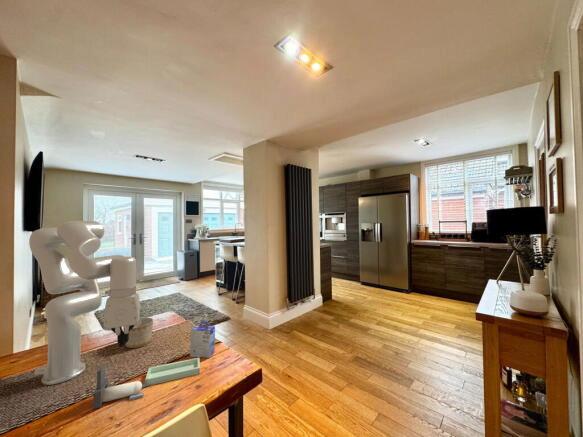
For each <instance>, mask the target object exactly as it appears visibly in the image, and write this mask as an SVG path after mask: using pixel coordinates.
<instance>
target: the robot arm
mask: <svg viewBox="0 0 583 437" xmlns="http://www.w3.org/2000/svg"><path fill="white" fill-rule="evenodd" d="M104 235H105V228H104V226H103V225H102V223H101V222H99V221H96V220H95V221H94V220H69V221H68V220H67V221H65V222H62V223H61V224H59V225H58V226H57V227H45V228H39V229H36V230H34V231H33V232H32V233H30V236H29V243H28V244H29V248H30V251H31V253H32V255H33V257H34V258H35V260H36V261H37V263H38V264H39V268H40V272H41V276H42V281H43V285H44V288H45V291H46V292H47V293H48V294H50V295H57V294H64V293H68V294H65V295H61V296H57V297H55V298H52V299H50V300H49V301H48V302H47V303H46V305H45V307H44V313H45V318H46V322H47V323H46V324H47V365H46V366H41V367H35V369H34V376H35V377H37V376H38V377H39V376H42V377H41V384H43V385H47V386H48V385H50V386H51V385H56V384H60V383H64V382H66V381H69V380H71V379H73V378H75V377H77V376H79V375H81V374H82V373H83V372H84V371H85V370H86V363H85V362H82V361H81V359H82V358H81V356H82V354H81V350H82V348H81V347H82V346H81V345H82V344H81V343H82V326H81V324H80V323H79V321H77V320H75V318H76V317H79V316H81V315H85V314H88V313H91V312H94V311H96V310H98V309H99V308H100V307H101V306H102V302H103V298H102V293H101V290H100V287H99V286H100V285H99V282H98V279H103V278H108V277H109V289H107V290H105V291H104V295H108V297H107V298H106V301H105V307H104V311H103V312H104V314H103V330H104V331H105V332H106V331H107V332H112V333H114V334H115V335H116V337H117V338H116V339H117V341H116V342H117V344H118V346H119V347H126V346H125V345H126V343H127V342H128V341H129V331H130V330H131V329H132V328H133V327H136V326H139V325H140V324H141V319H140V318H142V311H141V310H142V309H141V301H140V296H139V293H137V259H136V258H135V257H134V256H125V255H123V254H122V255H121V254H115V255H105V256H97V257H90V256H91V255H93V254H95V253H96V252H97V251H98V250H99V249H100V248H101V245H102V242H101V239H102V238H103V237H104ZM58 248H59V249H61V248H69V249H71V252H70V255H69V258H68V256H66V255H65V254H64V253H63V252H62V251H60V250H57V249H58ZM77 290H79V291H78V292H74V291H77ZM69 292H73V293H69ZM124 326H125V330H124V329H123V328H124Z"/></svg>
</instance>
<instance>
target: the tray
mask: <svg viewBox="0 0 583 437" xmlns="http://www.w3.org/2000/svg"><path fill="white" fill-rule="evenodd" d="M200 358H201V357H193V358H190V359H185V360H180V361H176V362H175V361H174V362H171V363H165V364H161V365H155V366H151V367H148V370H147V374H146V377H145V379H144V383H145V384H147V386H146V387H149V386H153V385H157V384H161V383H165V382H170V381H173V380H179V379H182V378H183V379H184V378H187V377H188V378H189V377H192V376H195V375H201V373H200V372H201V369H200V368H201V366H200V365H201V363H200V362H201V361H200V360H201V359H200Z"/></svg>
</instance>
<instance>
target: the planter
mask: <svg viewBox="0 0 583 437" xmlns="http://www.w3.org/2000/svg"><path fill="white" fill-rule="evenodd" d="M140 319H141V324H140V325H139V326H136V327H133V328H132V329H131V330H130V331H129V341H128V342H127V343H126V345H125V346H124V347H126V348H128V349H137V348H142V347H144V346H146V345H147V344H149V343H150V342H151V341H152V335H153V334H152V333H153V324H154V319H153V318H152V317H141V318H140ZM124 330H125V326H124V327H123V331H124Z"/></svg>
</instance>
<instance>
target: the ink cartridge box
mask: <svg viewBox="0 0 583 437" xmlns="http://www.w3.org/2000/svg"><path fill="white" fill-rule="evenodd" d="M208 324H209V321H204V320H201V321H200V323H199V325H195V326H194V327H192V329H190V338H189V344H190V345H189V357H191V358H192V357H193V358H199V357H200V358H209V359H210V358H211V357H212V356H213V355H214V353H215V352H216V325H208Z"/></svg>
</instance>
